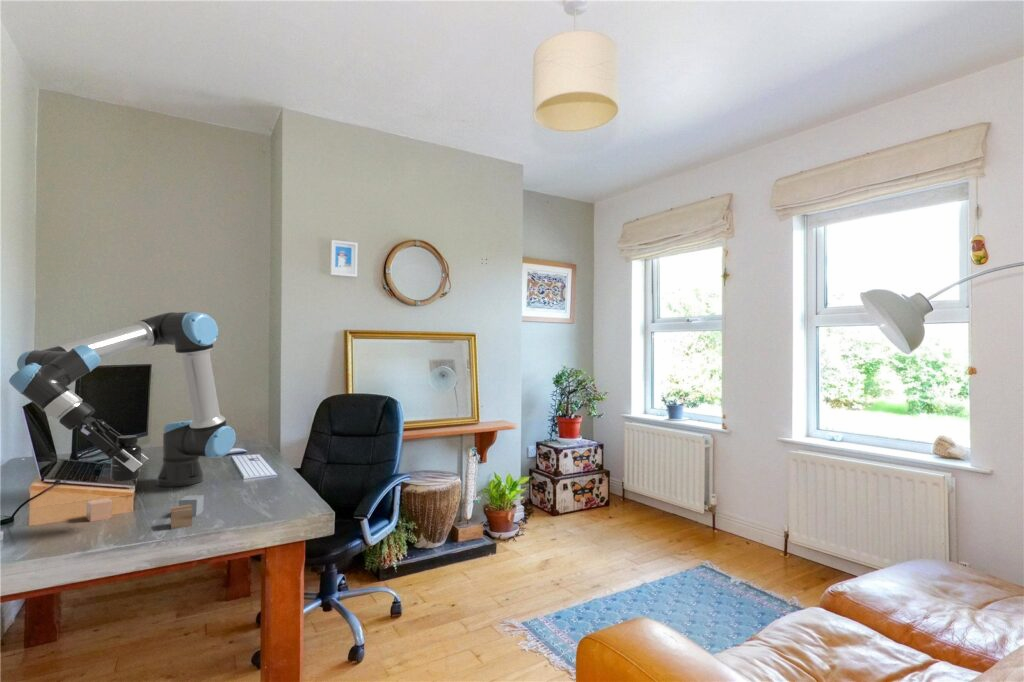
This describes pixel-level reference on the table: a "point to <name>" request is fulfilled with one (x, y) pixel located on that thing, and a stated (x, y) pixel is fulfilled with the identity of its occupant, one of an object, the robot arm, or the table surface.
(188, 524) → the walnut cube
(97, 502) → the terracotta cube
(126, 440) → the supplement bottle
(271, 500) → the table surface
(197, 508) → the slate grey cube
